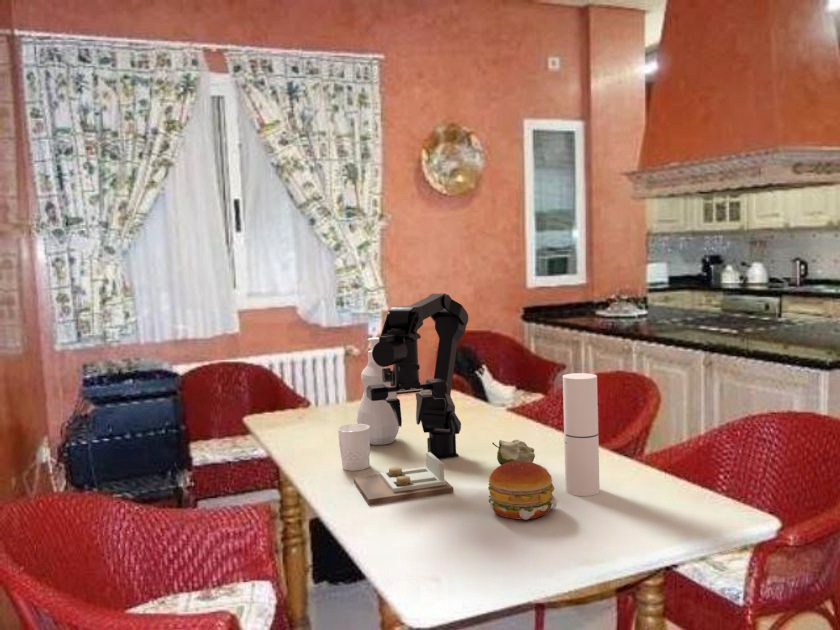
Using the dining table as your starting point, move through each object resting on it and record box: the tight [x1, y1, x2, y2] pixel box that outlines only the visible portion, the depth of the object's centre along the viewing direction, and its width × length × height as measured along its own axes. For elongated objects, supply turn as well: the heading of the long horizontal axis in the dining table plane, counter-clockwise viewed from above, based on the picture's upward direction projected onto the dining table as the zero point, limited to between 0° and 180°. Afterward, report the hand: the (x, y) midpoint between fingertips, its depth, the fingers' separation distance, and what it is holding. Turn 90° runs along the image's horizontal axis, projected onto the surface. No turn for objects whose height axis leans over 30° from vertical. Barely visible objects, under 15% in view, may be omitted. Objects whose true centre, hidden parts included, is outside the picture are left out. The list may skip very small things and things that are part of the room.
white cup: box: [337, 423, 371, 472], centre depth 177 cm, size 8×8×10 cm
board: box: [352, 466, 454, 506], centre depth 161 cm, size 19×16×3 cm
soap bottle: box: [356, 337, 400, 446], centre depth 200 cm, size 17×12×29 cm
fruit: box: [492, 439, 536, 466], centre depth 172 cm, size 9×9×8 cm
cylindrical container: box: [562, 372, 601, 497], centre depth 152 cm, size 7×7×25 cm
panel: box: [379, 451, 447, 492], centre depth 161 cm, size 12×12×4 cm
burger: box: [487, 461, 557, 520], centre depth 143 cm, size 13×14×10 cm
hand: (409, 425), depth 169 cm, fingers open, 4 cm apart
